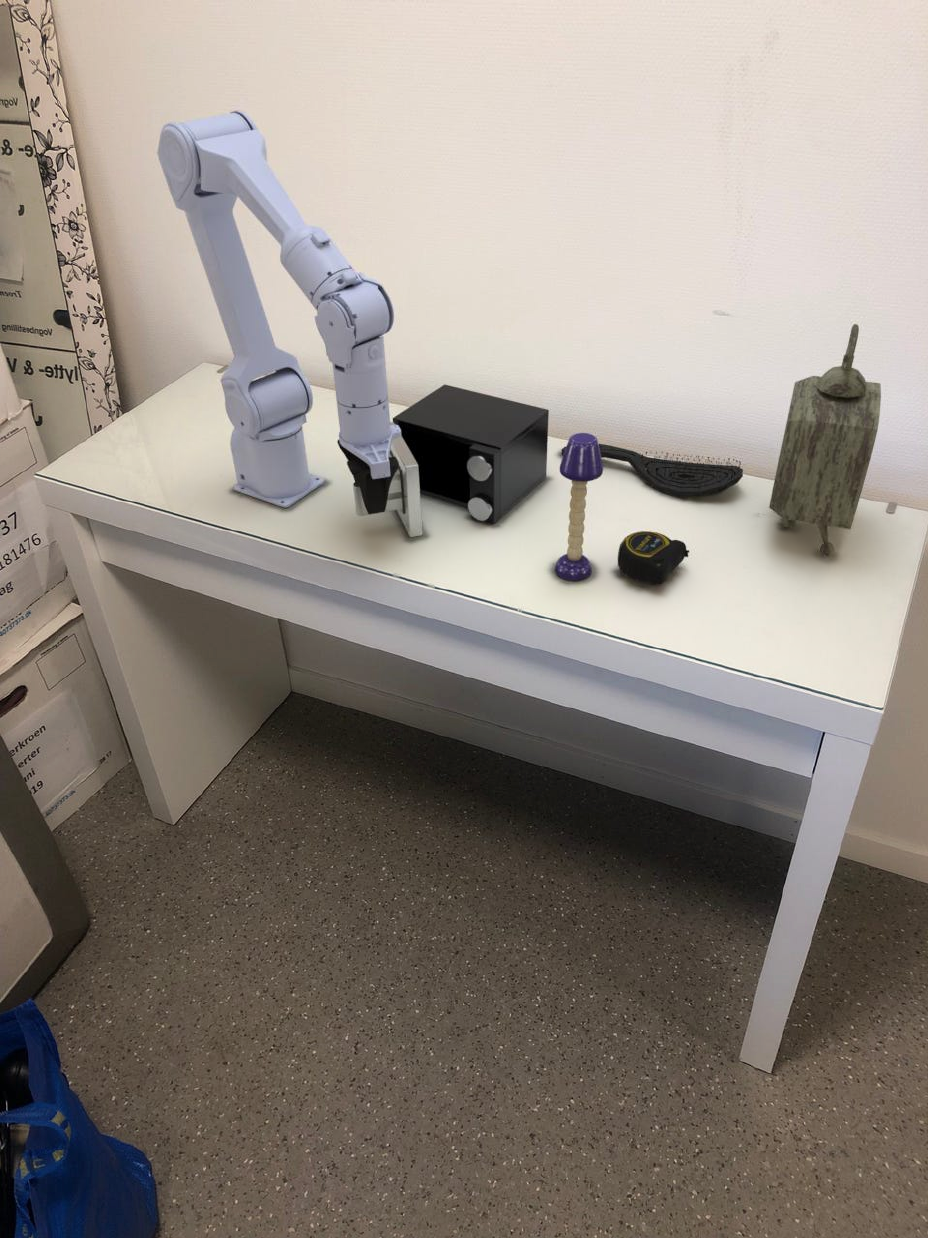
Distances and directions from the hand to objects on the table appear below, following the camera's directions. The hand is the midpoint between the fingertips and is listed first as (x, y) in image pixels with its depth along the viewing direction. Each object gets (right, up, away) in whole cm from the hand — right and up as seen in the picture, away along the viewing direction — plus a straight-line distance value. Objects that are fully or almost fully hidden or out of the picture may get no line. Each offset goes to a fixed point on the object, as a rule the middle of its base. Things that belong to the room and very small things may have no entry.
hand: (372, 502), depth 110 cm
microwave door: (+1, -1, +6) cm, 7 cm away
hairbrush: (+36, +6, +14) cm, 39 cm away
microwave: (+11, +4, +12) cm, 17 cm away
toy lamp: (+24, -8, -3) cm, 25 cm away
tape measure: (+33, -9, -4) cm, 34 cm away
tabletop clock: (+53, -3, +2) cm, 53 cm away
